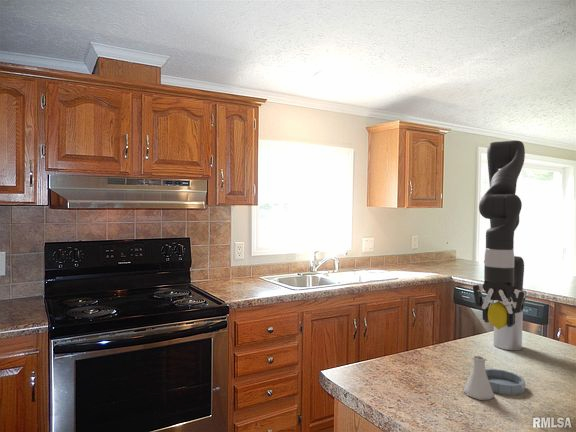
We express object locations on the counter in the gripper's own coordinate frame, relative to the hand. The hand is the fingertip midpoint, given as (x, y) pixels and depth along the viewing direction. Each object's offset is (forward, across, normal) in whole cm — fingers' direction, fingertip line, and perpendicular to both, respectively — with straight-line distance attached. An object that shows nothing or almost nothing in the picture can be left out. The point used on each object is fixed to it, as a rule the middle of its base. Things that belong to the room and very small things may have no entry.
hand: (498, 324), depth 116 cm
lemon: (+2, 0, 0) cm, 2 cm away
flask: (+17, +1, +11) cm, 20 cm away
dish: (+17, -1, 0) cm, 17 cm away
